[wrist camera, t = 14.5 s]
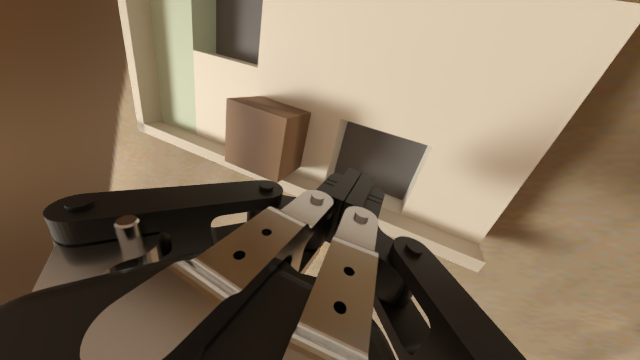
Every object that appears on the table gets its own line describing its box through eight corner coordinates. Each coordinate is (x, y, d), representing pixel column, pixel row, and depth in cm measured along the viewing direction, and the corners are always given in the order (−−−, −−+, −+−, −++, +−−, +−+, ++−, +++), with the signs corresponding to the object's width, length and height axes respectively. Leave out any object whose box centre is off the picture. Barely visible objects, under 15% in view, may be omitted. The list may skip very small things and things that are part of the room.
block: (311, 112, 18) (286, 118, 15) (300, 166, 21) (276, 183, 17) (260, 95, 20) (226, 98, 16) (254, 149, 22) (224, 161, 18)
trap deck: (606, 21, 13) (699, -11, 9) (464, 232, 20) (477, 272, 16) (168, -43, 21) (105, -75, 17) (180, 123, 29) (138, 130, 24)
